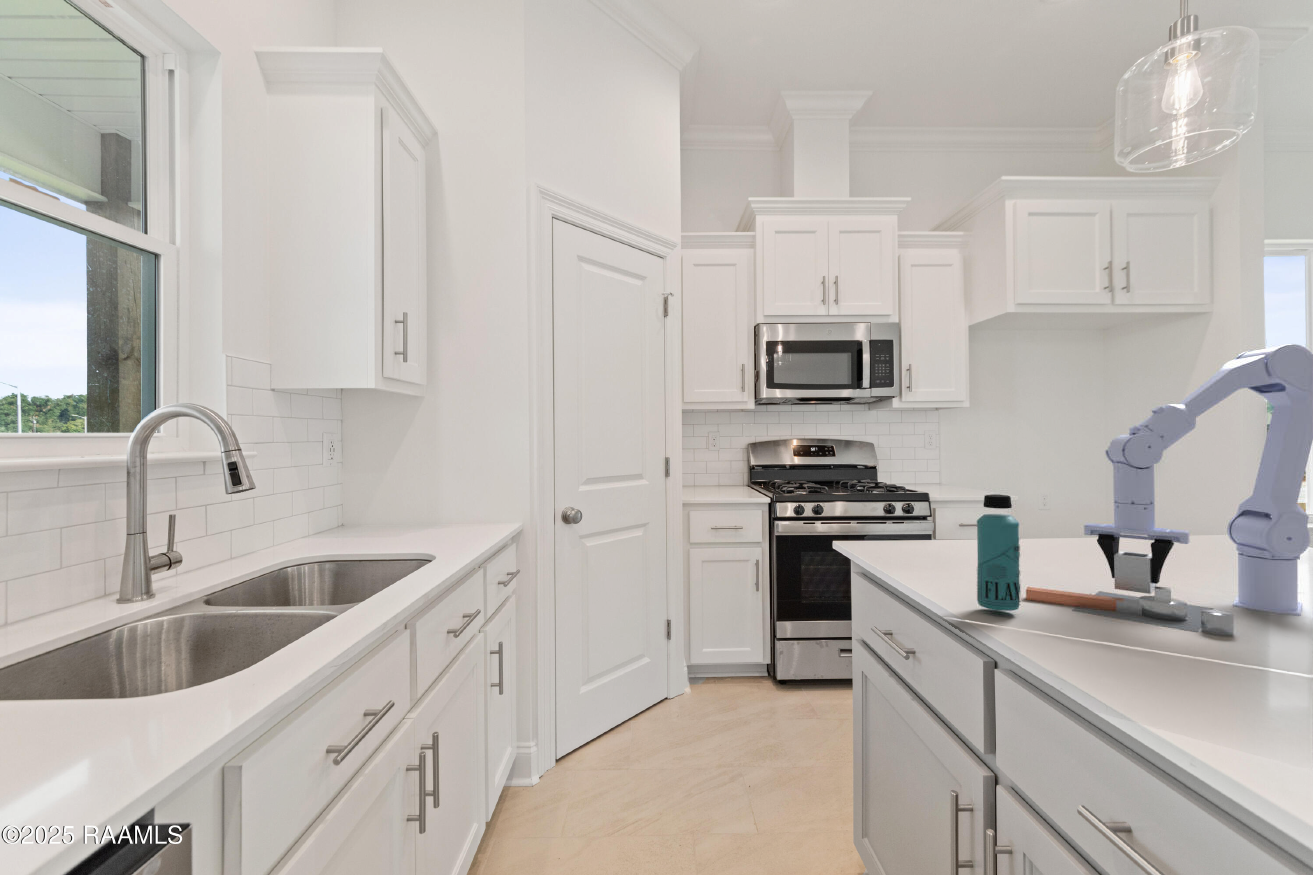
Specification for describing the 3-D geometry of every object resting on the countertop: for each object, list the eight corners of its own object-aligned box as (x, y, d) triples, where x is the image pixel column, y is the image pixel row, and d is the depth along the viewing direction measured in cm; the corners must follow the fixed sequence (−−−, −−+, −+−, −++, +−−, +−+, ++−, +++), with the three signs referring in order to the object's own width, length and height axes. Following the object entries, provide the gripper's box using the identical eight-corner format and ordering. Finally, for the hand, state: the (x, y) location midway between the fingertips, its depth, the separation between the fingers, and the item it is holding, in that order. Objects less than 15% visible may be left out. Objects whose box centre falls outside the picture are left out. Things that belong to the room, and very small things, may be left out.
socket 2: (1203, 629, 95) (1202, 608, 94) (1235, 634, 92) (1235, 613, 92) (1199, 634, 92) (1199, 613, 92) (1232, 640, 89) (1232, 618, 89)
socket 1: (1121, 583, 112) (1120, 550, 112) (1156, 588, 109) (1155, 554, 109) (1114, 588, 109) (1114, 554, 109) (1150, 593, 105) (1150, 558, 105)
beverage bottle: (978, 617, 101) (977, 495, 101) (974, 607, 107) (973, 492, 107) (1024, 622, 99) (1023, 497, 99) (1017, 610, 105) (1016, 493, 105)
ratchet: (1185, 614, 101) (1185, 587, 101) (1188, 623, 96) (1188, 594, 96) (1029, 594, 114) (1029, 570, 114) (1024, 601, 109) (1024, 576, 109)
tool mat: (1099, 592, 116) (1099, 590, 116) (1213, 609, 104) (1213, 608, 104) (1071, 612, 104) (1071, 610, 104) (1197, 634, 92) (1197, 632, 92)
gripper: (1079, 501, 111) (1080, 577, 112) (1183, 507, 101) (1185, 591, 101) (1089, 498, 116) (1090, 570, 116) (1190, 503, 105) (1192, 583, 106)
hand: (1135, 579), depth 109 cm, fingers closed on socket 1, 5 cm apart
